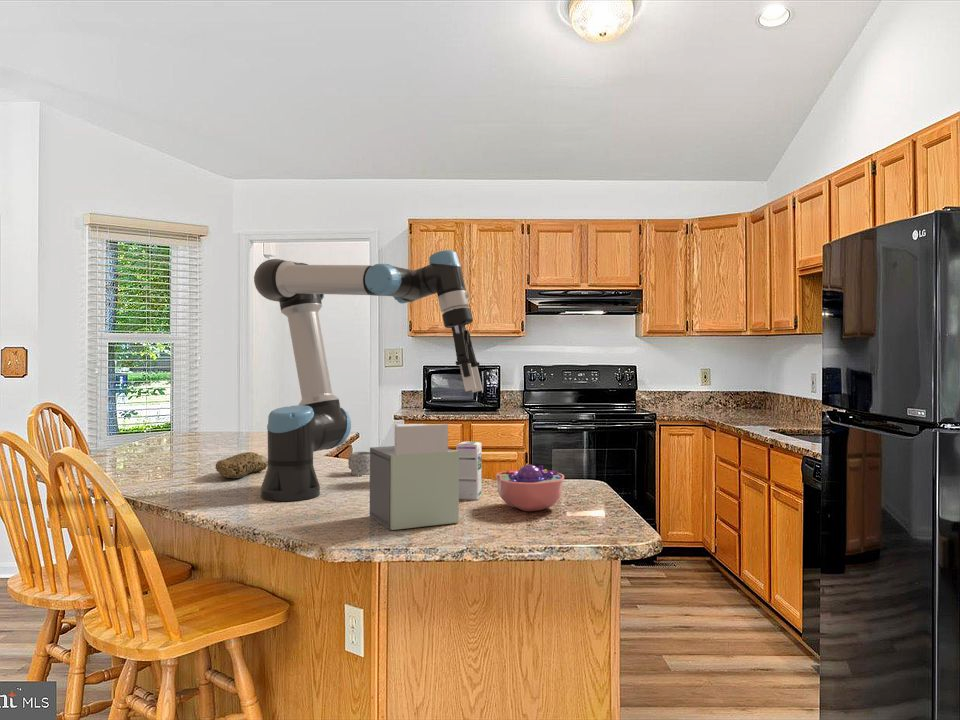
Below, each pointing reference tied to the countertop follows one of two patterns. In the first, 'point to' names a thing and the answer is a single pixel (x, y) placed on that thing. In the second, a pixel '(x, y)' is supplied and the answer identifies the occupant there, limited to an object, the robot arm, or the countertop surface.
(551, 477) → the cell model
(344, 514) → the countertop surface
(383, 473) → the box
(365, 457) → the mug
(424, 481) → the side door
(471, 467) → the syrup box
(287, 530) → the countertop surface
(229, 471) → the sponge
